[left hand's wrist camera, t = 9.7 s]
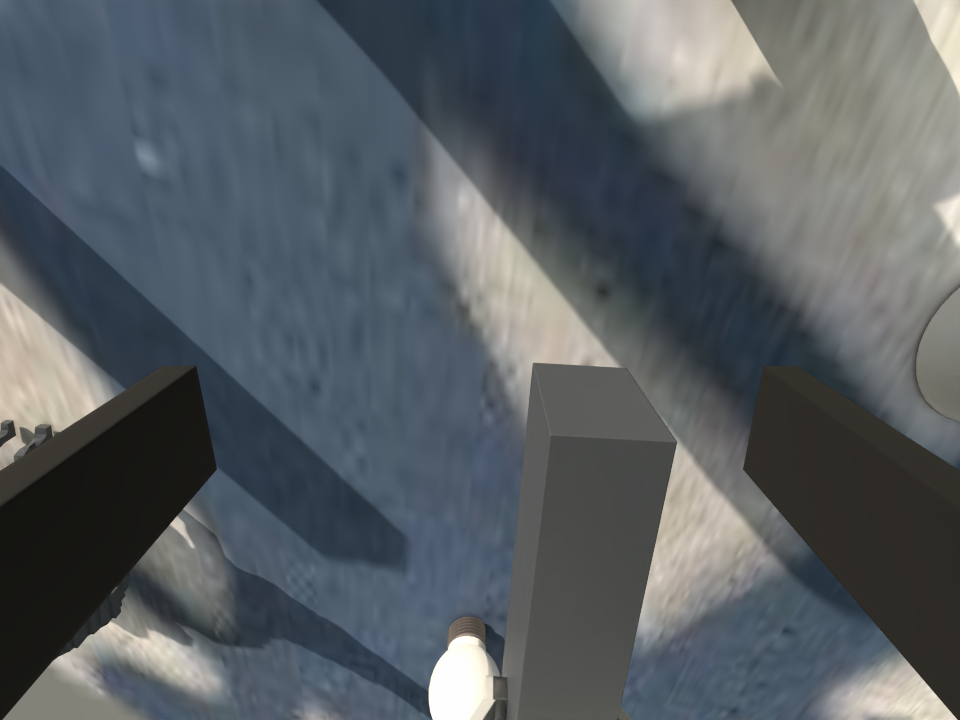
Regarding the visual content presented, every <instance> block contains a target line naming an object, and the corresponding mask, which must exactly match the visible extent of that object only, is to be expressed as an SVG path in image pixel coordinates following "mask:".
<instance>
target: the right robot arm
mask: <svg viewBox="0 0 960 720" xmlns="http://www.w3.org/2000/svg"><path fill="white" fill-rule="evenodd" d="M916 377H917V382H918V386H919V389H920V391H921V393H922V395H923V397H924V398H925V400H926V401H927V402H928V404H929V405H930V406H931V407H932V408H933V409H935V410H936V411H937V412H939V413H940V414H942V415H944V416H946V417H948V418H950V419H953V420H956V421H960V287H959V288H958V289H957V290H956V291H955V292H954V293H953V294H952V295H951V296H950V297H949V298H948V299H947V300H946V301H945V302H944V303H943V304H942V305H941V307H940V308H939V309H938V310H937V312H936V313H935V315H934V316H933V317H932V319H931V321H930V322H929V324H928V326H927V328H926V330H925V332H924V334H923V336H922V339H921V341H920V345H919V348H918V352H917V358H916ZM507 685H508V683H507V677H499V676H485V684H484V699H483V700H482V701H481V703H480V704H479V706H478V707H477V709H476V710H475V712H474V713H473V715H472V716H471V718H470V719H469V720H506V716H507V707H508V688H507ZM618 720H632V719H631V718H630V717H629V716H628V715H627V713H626V712H625V711H624V710H623V709H622V708H621V707H620V711H619V715H618Z"/></svg>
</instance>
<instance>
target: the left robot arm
mask: <svg viewBox="0 0 960 720" xmlns="http://www.w3.org/2000/svg"><path fill="white" fill-rule="evenodd" d="M216 470H217V468H216V463H215V458H214V453H213V448H212V443H211V438H210V433H209V428H208V423H207V418H206V413H205V408H204V403H203V398H202V393H201V388H200V383H199V378H198V373H197V368H196V366H162V367H161V368H159V369H158V370H156V371H155V372H153V373H152V374H150V375H148V376H147V377H145V378H144V379H142V380H141V381H139V382H138V383H136V384H134V385H133V386H131V387H130V388H128V389H127V390H125V391H124V392H122V393H121V394H119V395H117V396H116V397H114V398H113V399H111V400H110V401H108V402H107V403H105V404H103V405H102V406H100V407H99V408H97V409H96V410H94V411H93V412H91V413H89V414H88V415H86V416H85V417H83V418H82V419H80V420H79V421H77V422H75V423H74V424H72V425H71V426H69V427H68V428H66V429H65V430H63V431H62V432H60V433H58V434H57V435H55V436H54V437H52V438H51V439H49V440H48V441H46V442H44V443H43V444H41V445H40V446H38V447H37V448H35V449H34V450H32V451H30V452H29V453H27V454H26V455H24V456H23V457H21V458H20V459H18V460H16V461H15V462H13V463H12V464H10V465H9V466H7V467H6V468H4V469H2V470H1V471H0V720H2V719H3V718H4V717H5V716H6V715H7V714H8V712H9V711H10V710H11V709H12V708H13V707H14V705H15V704H16V703H17V702H18V701H19V700H20V698H21V697H22V696H23V695H24V694H25V693H26V691H27V690H28V689H29V688H30V687H31V686H32V684H33V683H34V682H35V681H36V680H37V679H38V677H39V676H40V675H41V674H42V673H43V672H44V670H45V669H46V668H47V667H48V666H49V665H50V663H51V662H52V661H53V660H54V659H55V658H56V656H57V655H58V654H59V653H60V652H61V651H62V649H63V648H64V647H65V646H66V645H67V644H68V642H69V641H70V640H71V639H72V638H73V637H74V635H75V634H76V633H77V632H78V631H79V630H80V628H81V627H82V626H83V625H84V624H85V623H86V621H87V620H88V619H89V618H90V617H91V616H92V614H93V613H94V612H95V611H96V610H97V609H98V607H99V606H100V605H101V604H102V603H103V602H104V600H105V599H106V598H107V597H108V596H109V595H110V593H111V592H112V591H113V590H114V589H115V588H116V586H117V585H118V584H119V583H120V582H121V581H122V579H123V578H124V577H125V576H126V575H127V574H128V572H129V571H130V570H131V569H132V568H133V567H134V565H135V564H136V563H137V562H138V561H139V560H140V558H141V557H142V556H143V555H144V554H145V553H146V551H147V550H148V549H149V548H150V547H151V546H152V544H153V543H154V542H155V541H156V540H157V539H158V537H159V536H160V535H161V534H162V533H163V532H164V530H165V529H166V528H167V527H168V526H169V525H170V523H171V522H172V521H173V520H174V519H175V518H176V516H177V515H178V514H179V513H180V512H181V511H182V509H183V508H184V507H185V506H186V505H187V504H188V502H189V501H190V500H191V499H192V498H193V496H194V495H195V494H196V493H197V492H198V491H199V489H200V488H201V487H202V486H203V485H204V484H205V482H206V481H207V480H208V479H209V478H210V477H211V475H212V474H213V473H214V472H215V471H216ZM743 470H744V471H745V472H746V473H747V474H748V475H749V477H750V478H751V479H752V480H753V481H754V482H755V484H756V485H757V486H758V487H759V488H760V489H761V491H762V492H763V493H764V494H765V495H766V496H767V498H768V499H769V500H770V501H771V502H772V504H773V505H774V506H775V507H776V508H777V509H778V511H779V512H780V513H781V514H782V515H783V516H784V518H785V519H786V520H787V521H788V522H789V523H790V525H791V526H792V527H793V528H794V529H795V530H796V532H797V533H798V534H799V535H800V536H801V537H802V539H803V540H804V541H805V542H806V543H807V544H808V546H809V547H810V548H811V549H812V550H813V551H814V553H815V554H816V555H817V556H818V557H819V558H820V560H821V561H822V562H823V563H824V564H825V565H826V567H827V568H828V569H829V570H830V571H831V572H832V574H833V575H834V576H835V577H836V578H837V579H838V581H839V582H840V583H841V584H842V585H843V586H844V588H845V589H846V590H847V591H848V592H849V593H850V595H851V596H852V597H853V598H854V599H855V600H856V602H857V603H858V604H859V605H860V606H861V607H862V609H863V610H864V611H865V612H866V613H867V614H868V616H869V617H870V618H871V619H872V620H873V621H874V623H875V624H876V625H877V626H878V627H879V628H880V630H881V631H882V632H883V633H884V634H885V635H886V637H887V638H888V639H889V640H890V641H891V642H892V644H893V645H894V646H895V647H896V648H897V649H898V651H899V652H900V653H901V654H902V655H903V656H904V658H905V659H906V660H907V661H908V662H909V663H910V665H911V666H912V667H913V668H914V669H915V670H916V672H917V673H918V674H919V675H920V676H921V677H922V679H923V680H924V681H925V682H926V683H927V684H928V686H929V687H930V688H931V689H932V690H933V691H934V693H935V694H936V695H937V696H938V697H939V698H940V700H941V701H942V702H943V703H944V704H945V705H946V707H947V708H948V709H949V710H950V711H951V712H952V714H953V715H954V716H955V717H956V718H957V720H960V471H959V470H958V469H956V468H954V467H953V466H951V465H950V464H948V463H947V462H945V461H944V460H942V459H940V458H939V457H937V456H936V455H934V454H933V453H931V452H930V451H928V450H926V449H925V448H923V447H922V446H920V445H919V444H917V443H916V442H914V441H912V440H911V439H909V438H908V437H906V436H905V435H903V434H902V433H900V432H898V431H897V430H895V429H894V428H892V427H891V426H889V425H888V424H886V423H885V422H883V421H881V420H880V419H878V418H877V417H875V416H874V415H872V414H871V413H869V412H867V411H866V410H864V409H863V408H861V407H860V406H858V405H857V404H855V403H853V402H852V401H850V400H849V399H847V398H846V397H844V396H843V395H841V394H839V393H838V392H836V391H835V390H833V389H832V388H830V387H829V386H827V385H826V384H824V383H822V382H821V381H819V380H818V379H816V378H815V377H813V376H812V375H810V374H808V373H807V372H805V371H804V370H802V369H801V368H799V367H798V366H764V368H763V373H762V378H761V383H760V388H759V393H758V398H757V403H756V408H755V413H754V418H753V423H752V428H751V433H750V438H749V443H748V448H747V453H746V458H745V463H744V468H743Z"/></svg>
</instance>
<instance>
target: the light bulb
mask: <svg viewBox="0 0 960 720" xmlns="http://www.w3.org/2000/svg"><path fill="white" fill-rule="evenodd" d="M485 630H486V628H485V625H484V623H483V622H482V621H481V620H479V619H478V618H475V617H464V618H461V619H458V620H457V621H455V622H454V623H453V624H452V625H451V626H450V628H449V630H448V642H447V652H446V653H445V654H444V655H443V656H442V657H441V658H440V660H439V661H438V663H437V665H436V666H435V669H434V671H433V674H432V677H431V682H430V687H429V706H430V712H431V715H432V718H433V720H469V719H470V718H471V716H472V715H473V713H474V712H475V710H476V709H477V707H478V706H479V704H480V703H481V701H482V700H483V699H484V684H485V676H499V677H500V674H499V671H498V668H497V666H496V664H495V662H494V660H493V659H492V657H491V656H490V655H489V654H488V653H487V652H486V648H485V647H486V634H485V633H486V631H485Z"/></svg>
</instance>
